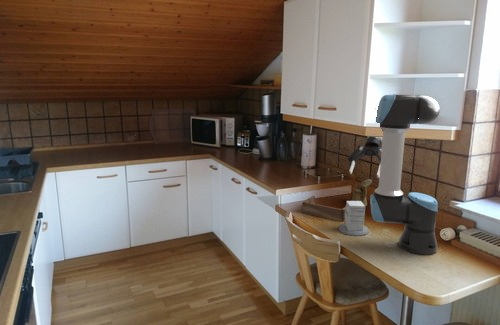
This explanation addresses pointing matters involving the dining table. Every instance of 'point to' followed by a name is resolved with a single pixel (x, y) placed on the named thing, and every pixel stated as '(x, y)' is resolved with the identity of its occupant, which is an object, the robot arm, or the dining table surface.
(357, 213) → the supplement box
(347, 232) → the slate mat
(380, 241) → the dining table surface
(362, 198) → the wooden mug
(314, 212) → the walnut cubby
